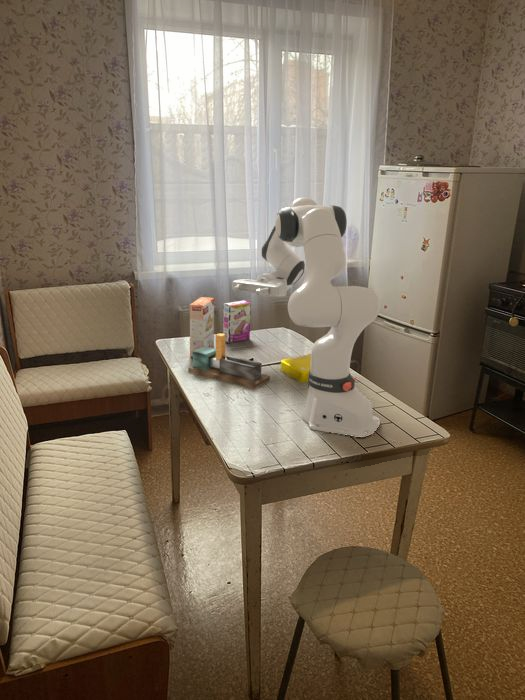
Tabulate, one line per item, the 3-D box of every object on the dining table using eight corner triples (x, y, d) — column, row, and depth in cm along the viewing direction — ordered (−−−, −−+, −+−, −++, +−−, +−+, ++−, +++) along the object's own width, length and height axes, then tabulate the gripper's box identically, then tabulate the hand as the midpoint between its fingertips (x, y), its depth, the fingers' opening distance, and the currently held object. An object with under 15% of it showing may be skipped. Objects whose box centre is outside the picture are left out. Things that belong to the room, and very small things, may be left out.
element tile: (311, 364, 199) (312, 352, 197) (336, 376, 187) (337, 364, 185) (278, 370, 191) (278, 358, 190) (302, 384, 179) (302, 371, 178)
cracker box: (204, 358, 200) (203, 305, 194) (189, 357, 201) (188, 304, 195) (215, 347, 213) (214, 297, 207) (200, 346, 214) (200, 296, 208)
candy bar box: (229, 344, 218) (229, 305, 213) (222, 340, 222) (222, 303, 217) (250, 339, 225) (251, 302, 220) (243, 336, 229) (244, 299, 223)
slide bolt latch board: (269, 379, 181) (270, 359, 179) (254, 389, 173) (254, 367, 171) (205, 363, 195) (205, 344, 192) (188, 371, 187) (187, 351, 184)
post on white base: (232, 368, 184) (232, 335, 180) (227, 370, 182) (227, 337, 178) (205, 361, 190) (204, 329, 186) (200, 363, 188) (199, 331, 184)
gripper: (243, 273, 202) (223, 278, 190) (290, 279, 192) (271, 285, 180) (243, 290, 204) (223, 295, 192) (289, 296, 194) (271, 303, 182)
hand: (246, 290), depth 186 cm, fingers open, 8 cm apart
